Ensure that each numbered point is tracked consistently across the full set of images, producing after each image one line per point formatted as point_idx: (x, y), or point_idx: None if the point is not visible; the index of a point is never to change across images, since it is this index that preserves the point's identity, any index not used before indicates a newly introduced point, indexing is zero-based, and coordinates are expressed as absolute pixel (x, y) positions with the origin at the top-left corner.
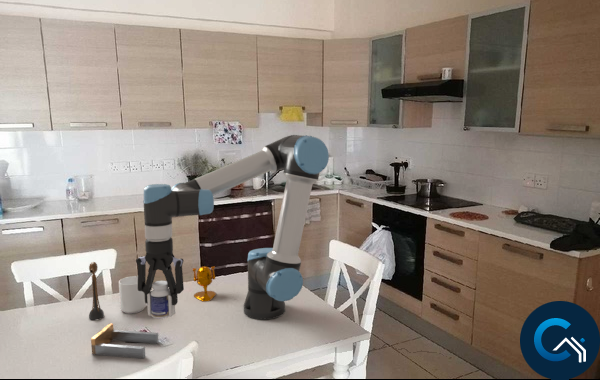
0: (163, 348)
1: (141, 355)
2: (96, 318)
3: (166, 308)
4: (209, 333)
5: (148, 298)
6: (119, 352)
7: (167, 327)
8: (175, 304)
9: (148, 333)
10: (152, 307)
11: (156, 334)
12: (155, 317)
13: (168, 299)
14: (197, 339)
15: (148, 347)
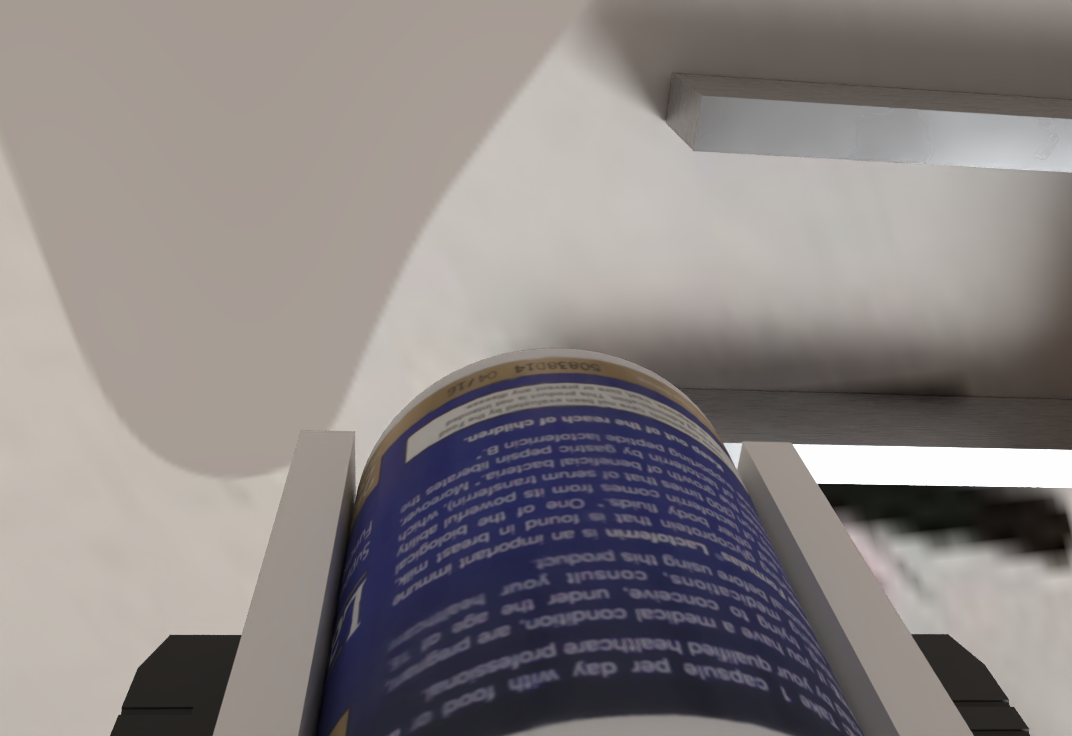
0: (523, 305)
1: (703, 80)
2: None
3: (380, 530)
4: (159, 623)
5: (930, 720)
6: (980, 102)
7: None
8: (153, 654)
9: None
10: (729, 505)
11: None
12: (607, 356)
13: (295, 732)
14: (230, 508)
15: (694, 309)
